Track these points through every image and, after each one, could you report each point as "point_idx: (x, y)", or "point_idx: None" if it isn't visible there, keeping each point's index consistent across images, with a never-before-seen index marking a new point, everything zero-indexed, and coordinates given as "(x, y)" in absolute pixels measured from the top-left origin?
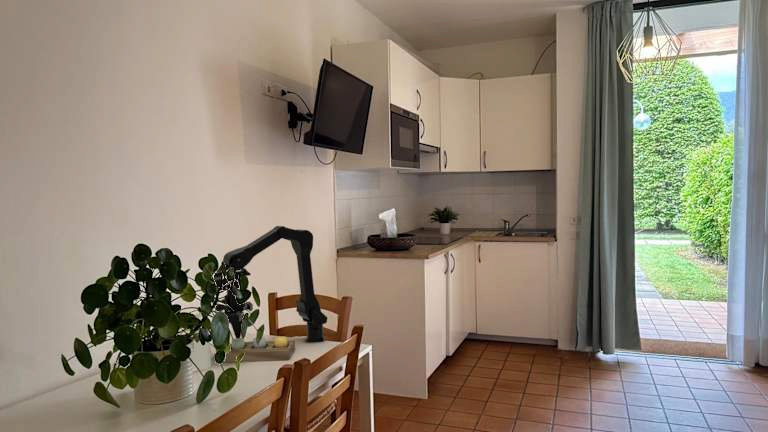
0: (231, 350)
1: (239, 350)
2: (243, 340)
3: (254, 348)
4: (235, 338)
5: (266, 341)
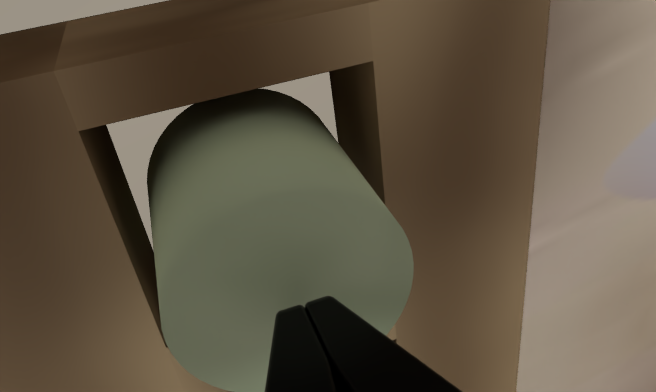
0: (36, 219)
1: (80, 331)
2: None
3: None
4: (372, 216)
5: (505, 389)
